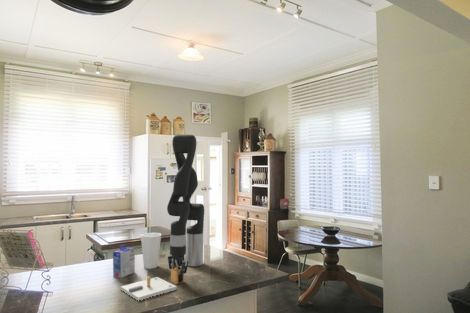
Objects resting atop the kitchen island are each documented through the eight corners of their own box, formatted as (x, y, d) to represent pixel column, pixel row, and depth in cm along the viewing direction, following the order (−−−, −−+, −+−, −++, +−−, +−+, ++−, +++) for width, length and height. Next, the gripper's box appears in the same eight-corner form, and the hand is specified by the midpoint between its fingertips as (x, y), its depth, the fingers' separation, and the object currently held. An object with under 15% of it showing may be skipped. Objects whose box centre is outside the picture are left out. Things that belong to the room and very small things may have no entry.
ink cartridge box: (126, 270, 167) (127, 242, 167) (135, 272, 165) (135, 243, 165) (112, 276, 158) (112, 246, 158) (120, 278, 156) (121, 248, 156)
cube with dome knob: (170, 281, 153) (171, 267, 153) (178, 279, 156) (178, 265, 156) (176, 284, 149) (176, 269, 150) (184, 281, 152) (184, 267, 153)
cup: (136, 268, 171) (136, 235, 172) (148, 262, 181) (148, 231, 181) (153, 271, 167) (154, 237, 168) (165, 265, 177) (165, 233, 177)
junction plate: (120, 290, 142) (120, 277, 142) (157, 280, 154) (157, 268, 154) (138, 301, 130) (138, 287, 130) (176, 289, 143) (176, 277, 143)
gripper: (162, 242, 155) (162, 278, 155) (180, 248, 145) (179, 286, 145) (176, 240, 161) (175, 275, 160) (193, 245, 150) (193, 282, 150)
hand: (177, 280), depth 152 cm, fingers closed on cube with dome knob, 4 cm apart
